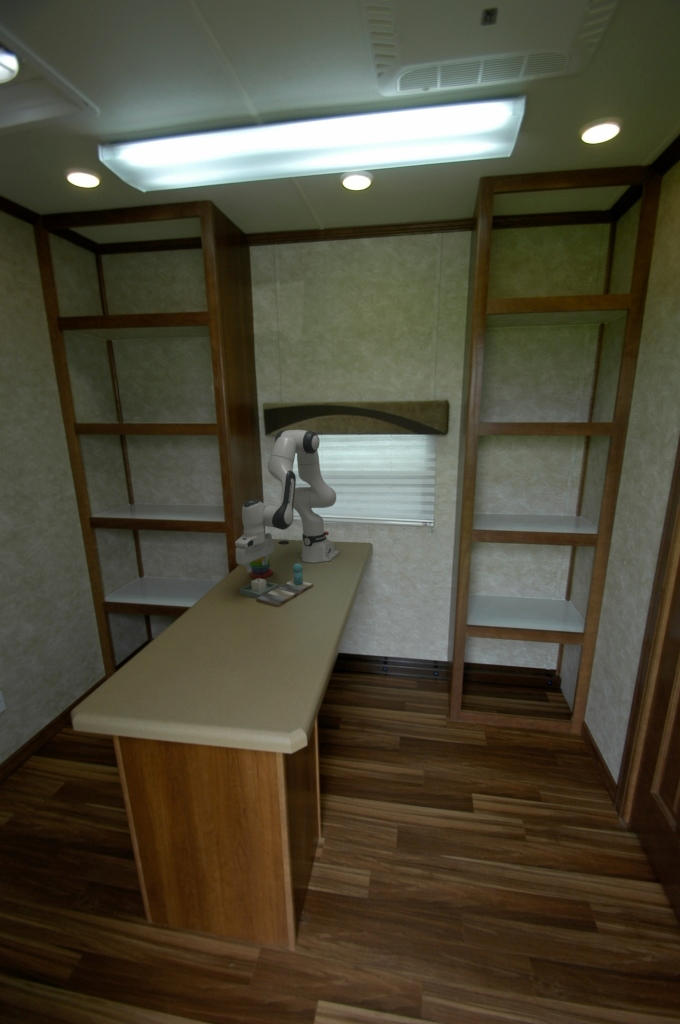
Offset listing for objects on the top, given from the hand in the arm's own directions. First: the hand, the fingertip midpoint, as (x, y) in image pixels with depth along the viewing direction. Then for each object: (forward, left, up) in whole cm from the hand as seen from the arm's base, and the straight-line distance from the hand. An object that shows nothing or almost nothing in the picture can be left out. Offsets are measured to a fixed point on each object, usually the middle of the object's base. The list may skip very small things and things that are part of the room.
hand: (257, 568), depth 187 cm
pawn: (-13, +12, -10) cm, 20 cm away
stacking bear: (-15, -13, -11) cm, 23 cm away
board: (-4, +12, -11) cm, 17 cm away
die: (0, 0, -10) cm, 10 cm away
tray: (0, 0, -11) cm, 11 cm away
